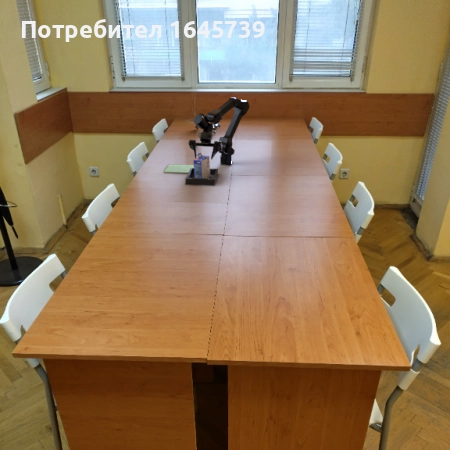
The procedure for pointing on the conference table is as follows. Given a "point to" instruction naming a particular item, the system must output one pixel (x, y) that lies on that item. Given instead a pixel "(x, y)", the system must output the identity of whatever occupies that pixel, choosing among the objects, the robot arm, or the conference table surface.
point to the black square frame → (201, 180)
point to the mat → (178, 168)
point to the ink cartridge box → (202, 166)
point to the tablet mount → (213, 124)
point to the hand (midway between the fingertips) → (203, 158)
